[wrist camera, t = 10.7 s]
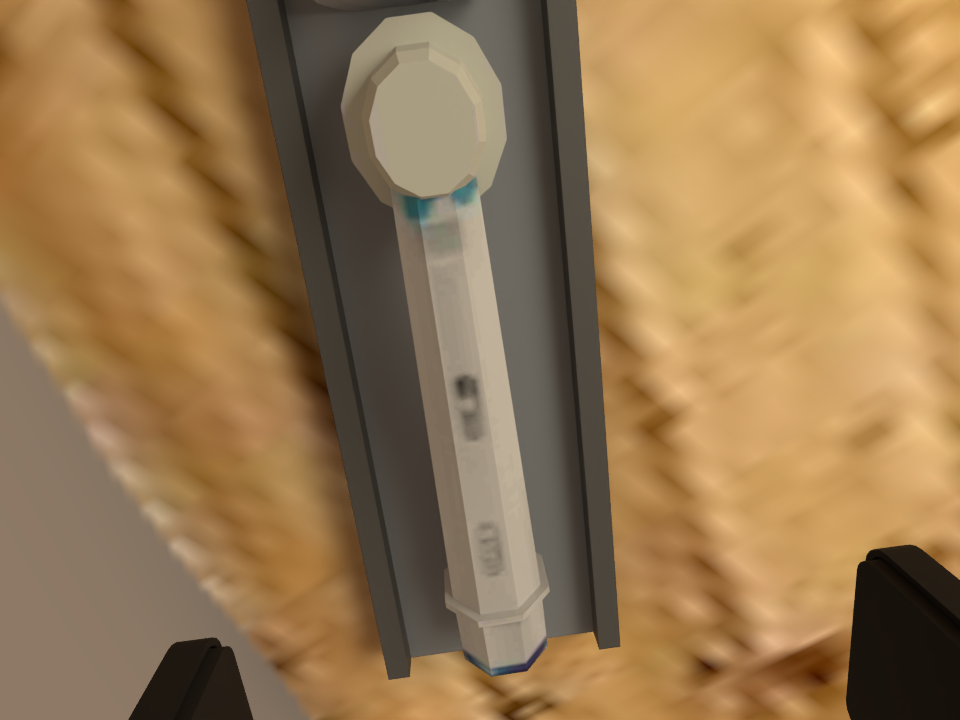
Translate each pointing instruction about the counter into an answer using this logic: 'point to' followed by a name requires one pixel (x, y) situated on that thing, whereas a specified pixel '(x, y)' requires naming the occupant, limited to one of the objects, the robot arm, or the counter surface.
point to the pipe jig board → (519, 296)
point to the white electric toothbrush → (454, 314)
